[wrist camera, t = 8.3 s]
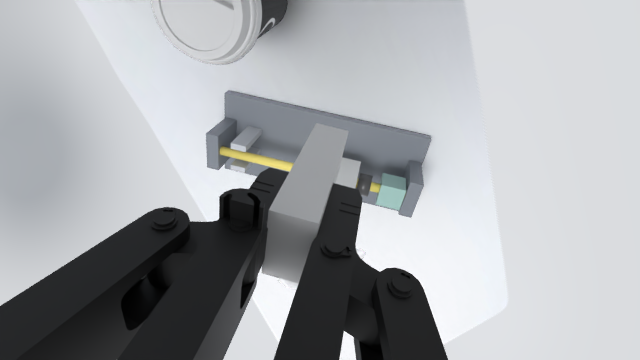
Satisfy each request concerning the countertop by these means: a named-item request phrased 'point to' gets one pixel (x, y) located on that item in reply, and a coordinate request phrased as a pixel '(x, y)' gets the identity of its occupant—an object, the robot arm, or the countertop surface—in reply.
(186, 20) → the coffee cup
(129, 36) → the countertop surface
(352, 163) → the white rectangular block
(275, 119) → the linear slide fixture
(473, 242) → the countertop surface
